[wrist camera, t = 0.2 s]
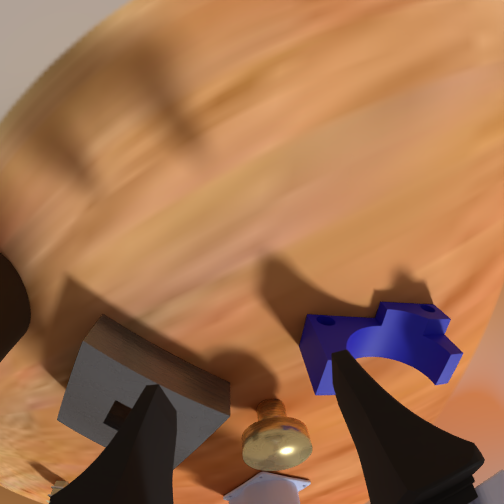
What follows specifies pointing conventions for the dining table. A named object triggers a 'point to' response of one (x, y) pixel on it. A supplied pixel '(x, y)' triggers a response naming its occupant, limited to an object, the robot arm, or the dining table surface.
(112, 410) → the block
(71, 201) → the dining table surface
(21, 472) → the dining table surface
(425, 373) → the blue angular block
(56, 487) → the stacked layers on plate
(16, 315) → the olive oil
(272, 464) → the brass pin
